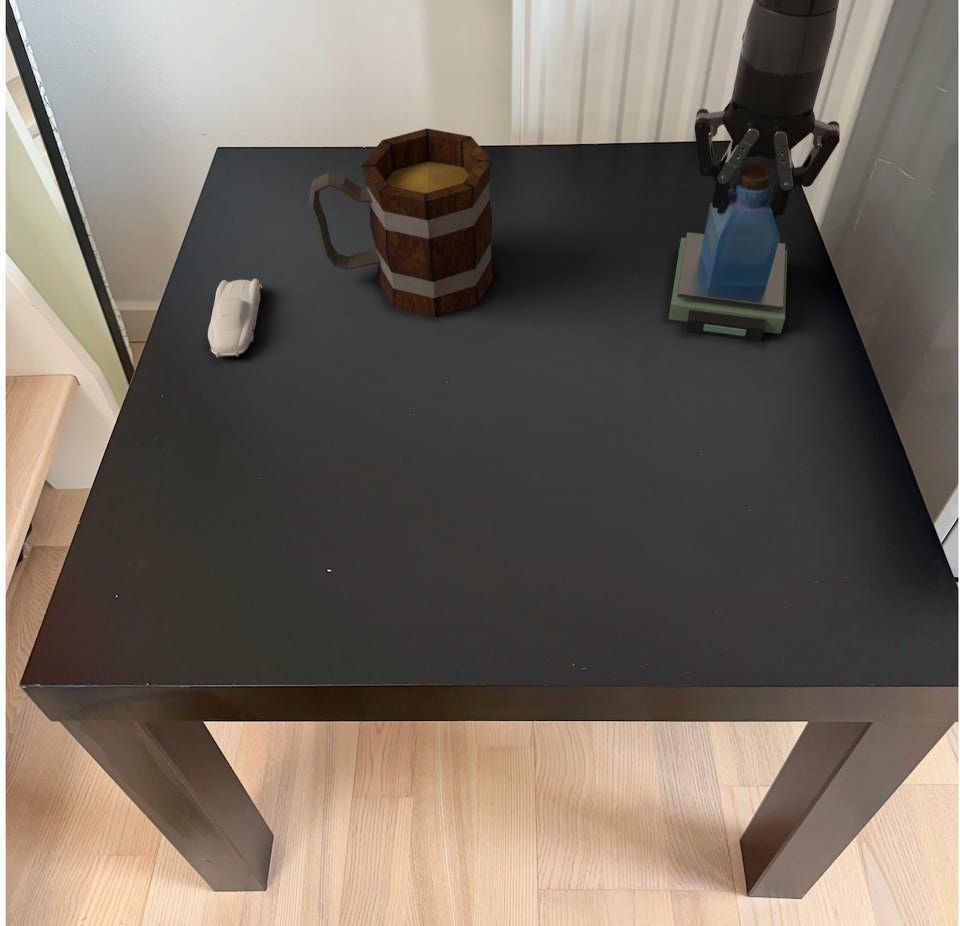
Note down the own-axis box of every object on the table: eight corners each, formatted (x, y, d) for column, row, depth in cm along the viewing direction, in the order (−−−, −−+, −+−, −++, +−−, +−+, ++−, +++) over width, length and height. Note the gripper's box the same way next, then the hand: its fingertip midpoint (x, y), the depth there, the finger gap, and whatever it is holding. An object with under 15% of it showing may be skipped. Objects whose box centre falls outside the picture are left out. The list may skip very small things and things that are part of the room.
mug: (491, 240, 110) (489, 125, 98) (496, 314, 101) (494, 198, 90) (329, 246, 110) (308, 133, 98) (320, 321, 101) (295, 206, 90)
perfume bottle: (766, 286, 98) (793, 189, 88) (708, 286, 98) (729, 190, 89) (756, 250, 102) (781, 154, 92) (701, 251, 102) (719, 155, 93)
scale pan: (782, 252, 103) (785, 243, 102) (780, 315, 97) (783, 306, 96) (685, 240, 105) (686, 231, 104) (676, 301, 98) (677, 293, 97)
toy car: (264, 288, 105) (258, 264, 102) (252, 361, 97) (244, 337, 95) (223, 290, 105) (215, 266, 102) (207, 363, 97) (198, 339, 95)
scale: (783, 265, 105) (787, 249, 103) (780, 345, 97) (784, 330, 95) (678, 252, 107) (681, 237, 105) (666, 330, 99) (669, 314, 97)
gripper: (700, 63, 80) (673, 226, 93) (869, 78, 78) (817, 242, 91) (706, 25, 85) (680, 184, 98) (866, 37, 82) (817, 199, 95)
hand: (746, 211), depth 94 cm, fingers closed on perfume bottle, 4 cm apart
